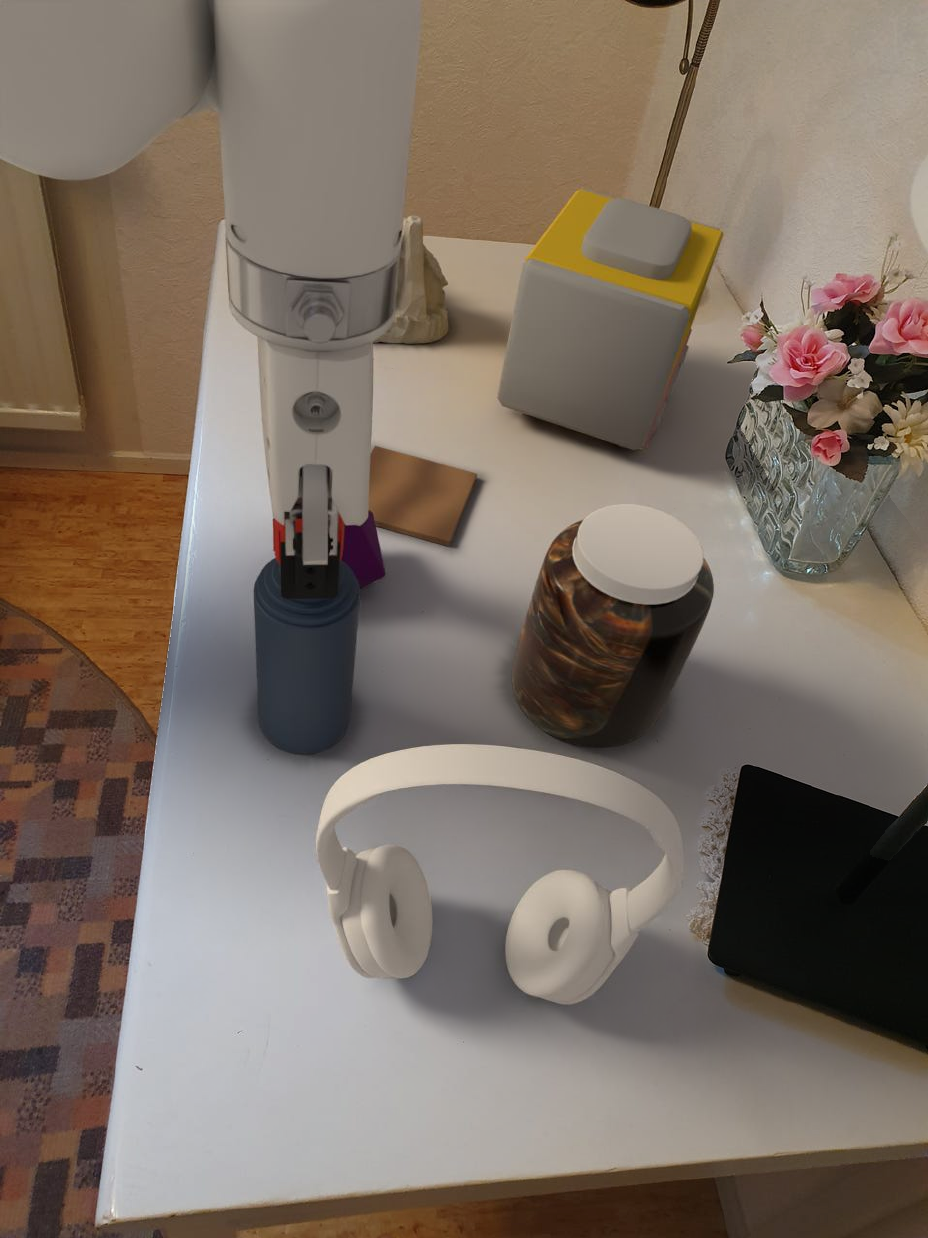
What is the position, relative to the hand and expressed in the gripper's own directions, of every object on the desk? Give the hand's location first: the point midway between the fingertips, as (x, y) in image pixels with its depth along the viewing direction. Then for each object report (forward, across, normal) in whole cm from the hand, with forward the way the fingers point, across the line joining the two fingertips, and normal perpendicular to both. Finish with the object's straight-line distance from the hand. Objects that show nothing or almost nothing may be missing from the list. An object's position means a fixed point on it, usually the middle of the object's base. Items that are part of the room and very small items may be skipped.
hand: (307, 565), depth 55 cm
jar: (+15, +2, -22) cm, 26 cm away
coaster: (+15, +24, -10) cm, 30 cm away
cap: (-1, 0, 0) cm, 1 cm away
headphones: (+15, -18, -9) cm, 25 cm away
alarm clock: (+15, +40, -31) cm, 53 cm away
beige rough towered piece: (+15, +57, -10) cm, 59 cm away
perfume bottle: (+15, +14, -3) cm, 21 cm away
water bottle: (+15, 0, 0) cm, 15 cm away
